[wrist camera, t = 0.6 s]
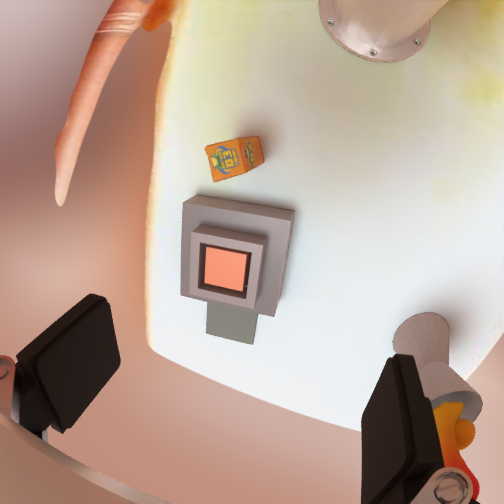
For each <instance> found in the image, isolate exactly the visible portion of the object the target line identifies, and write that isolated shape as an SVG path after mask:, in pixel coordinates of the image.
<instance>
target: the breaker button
mask: <svg viewBox="0 0 504 504" xmlns="http://www.w3.org/2000/svg"><path fill="white" fill-rule="evenodd" d="M251 256H252V252H247V251H241V250H236V249H231V248H226V247H221V246H216V245H211V244H209V245H208V246H207V247H206V263H205V282H204V283H207V284H211V285H216V286H220V287H225V288H229V289H234V290H238V291H243V289H244V287H245V285H246V283H247V281H248V279H249V272H250V264H251Z"/></svg>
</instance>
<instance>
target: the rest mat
mask: <svg viewBox="0 0 504 504" xmlns="http://www.w3.org/2000/svg"><path fill="white" fill-rule="evenodd" d="M257 315H258V313H254V312H249V311H245V310H240V309H236V308H231V307H227V306H223V305H218V304H214V303H210V302H207V323H206V333H207V334H211V335H214V336H218V337H222V338H226V339H230V340H235V341H239V342H243V343H247V344H252V345H253V341H254V335H255V328H256V322H257Z"/></svg>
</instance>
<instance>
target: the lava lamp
mask: <svg viewBox="0 0 504 504" xmlns="http://www.w3.org/2000/svg"><path fill="white" fill-rule="evenodd" d="M393 348H394V351H395V352H396V354H407V355H413V356H414V359H415V362H416V366H417V369H418V373H419V377H420V380H421V384H422V388H423V392H424V396H425V397H428V398H429V399H430V401H431V405H432V409H433V413H434V417H435V421H436V426H437V430H438V435H439V439H440V444H441V449H442V454H443V460H444V465H445V467H455V468H458V469H461V470H463V471H464V472H465V473H466V474H467V475H468V476H469V478H470V479H471V481H472V485H473V494H472V497H471V498H473V499H474V500H476V499H477V497H478V494H479V483H478V480H477V479H476V477H475V476H474V475H473V473H472V472H471V471H470V469H469V468H468V467H467V465H466V464H465V462H464V460H463V458H462V457H461V455H460V453H459V450H463V449H465V448H466V447H468V446H469V445H470V444H471V443H472V441H473V439H474V436H475V427H474V424H473V422H474V421H475V420H476V419H477V417H478V415H479V414H480V412H481V409H482V405H483V402H482V399H481V396H480V395H479V394H478V393H477V392H476V391H475V390H474V389H473V388H472V387H471V386H470V385H469V384H468V383H467V382H465V381H464V380H463V379H462V378H461V377H460V376H459V375H458V374H457V373H456V372H455V371H454V370H452V369H451V368H450V367H449V326H448V324H447V321H446V320H445V319H444V318H443V317H442V316H441V315H438V314H436V313H421V314H417V315H414V316H412V317H411V318H409V319H407V320H406V321H405V322H404V323H403V324H401V325H400V326H399V328H398V329H397V331H396V333H395V334H394V339H393Z"/></svg>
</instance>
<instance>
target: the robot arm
mask: <svg viewBox="0 0 504 504" xmlns="http://www.w3.org/2000/svg"><path fill="white" fill-rule="evenodd" d="M448 1H449V0H319V12H320V17H321V20H322V22H323V25H324V26H325V28H326V30H327V32H328V33H329V34H330V35H331V37H332V38H333V39H334V40H335V41H336V42H337V43H338V44H339V45H341V46H342V47H343V48H344V49H346V50H348V51H349V52H351V53H352V54H354V55H357V56H359V57H361V58H364V59H368V60H371V61H377V62H396V61H400V60H404V59H406V58H408V57H410V56H412V55H413V54H415V53H416V52H418V51H419V50H420V49H421V48H422V47H423V45H424V44H425V42H426V40H427V38H428V35H429V32H430V18H431V17H432V16H433V15H434V14H435V13H436V12H437V11H438V10H439V9H440V8H441V7H442V6H443V5H444V4H446V3H447V2H448ZM329 23H333V25H332V26H331V25H329ZM414 42H416V43H417V45H416V44H414ZM370 52H373V53H374V56H372V55H371V54H370ZM16 357H17V359H18V362H17V363H16V364H15V362H14V360H13V359H12V358H10V357H8V356H3V355H0V504H174V503H171V502H168V501H165V500H162V499H160V498H157V497H154V496H151V495H149V494H146V493H144V492H141V491H139V490H137V489H134V488H132V487H129V486H127V485H125V484H123V483H121V482H118V481H116V480H114V479H112V478H110V477H108V476H106V475H104V474H102V473H99V472H98V471H96V470H94V469H92V468H90V467H88V466H86V465H84V464H82V463H80V462H79V461H77V460H75V459H73V458H71V457H70V456H68V455H66V454H64V453H63V452H61V451H59V450H58V449H56V448H54V447H53V446H51V445H50V444H48V435H47V428H48V427H49V425H51V427H52V428H53V429H55V430H57V431H59V432H60V433H62V434H63V433H64V432H65V430H66V429H67V428H71V427H72V426H73V425H74V423H75V422H76V421H77V420H78V418H79V417H80V416H81V415H82V413H83V412H84V411H85V409H86V408H87V407H88V406H89V404H90V403H91V402H92V401H93V399H94V398H95V397H96V396H97V394H98V393H99V392H100V391H101V389H102V388H103V387H104V386H105V384H106V383H107V382H108V381H109V379H110V378H111V377H112V376H113V374H114V373H115V372H116V371H117V369H118V368H119V366H120V362H121V361H120V360H121V359H120V354H119V350H118V345H117V340H116V335H115V330H114V325H113V319H112V314H111V308H110V304H109V303H108V302H107V300H106V298H105V297H103V296H99V295H96V294H89V295H87V296H86V297H85V298H83V299H82V300H81V301H80V302H78V303H77V304H76V305H75V306H73V307H72V308H71V309H70V310H69V311H68V312H66V313H65V314H64V315H62V317H60V318H59V319H58V320H57V321H55V322H54V323H53V324H52V325H50V326H49V327H48V328H47V329H46V330H45V331H43V332H42V333H41V334H40V335H39V336H38V337H36V339H34V340H33V341H32V342H31V343H30V344H28V345H27V346H26V347H25V348H24V349H23V350H22V351H20V352H19V353H18V354H17V355H16ZM361 429H362V485H361V486H362V488H361V504H480V503H478V502H477V501H476V500H474V499H473V498H471V497H472V494H473V485H472V481H471V479H470V478H469V476H468V475H467V474H466V473H465V472H464V471H463V470H461V469H458V468H455V467H445V465H444V460H443V454H442V449H441V444H440V439H439V435H438V430H437V426H436V421H435V417H434V413H433V409H432V405H431V401H430V399H429V398H428V397H425V396H424V392H423V388H422V384H421V380H420V377H419V373H418V369H417V366H416V362H415V359H414V356H413V355H407V354H395V355H394V356H393V358H390V357H389V358H388V359H387V361H386V364H385V366H384V368H383V371H382V373H381V375H380V378H379V380H378V382H377V384H376V387H375V389H374V391H373V393H372V395H371V397H370V400H369V402H368V404H367V406H366V408H365V410H364V412H363V415H362V420H361Z"/></svg>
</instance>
